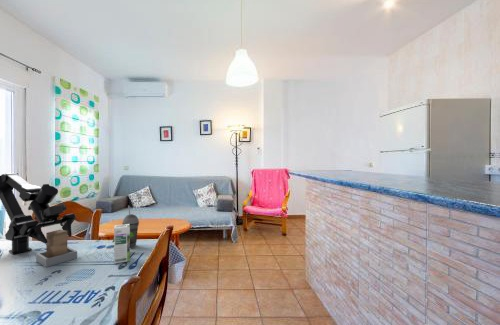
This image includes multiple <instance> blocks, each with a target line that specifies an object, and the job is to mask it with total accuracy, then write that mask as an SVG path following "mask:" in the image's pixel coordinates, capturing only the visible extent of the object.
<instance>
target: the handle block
mask: <svg viewBox="0 0 500 325" xmlns="http://www.w3.org/2000/svg"><path fill="white" fill-rule="evenodd" d="M45 237H46V239H47V244H46V258H51V257H55V256H59V255H62V254H66V253H67V247H68V235H67V231H65V230H63V229H56V230H51V231H48V232H46V236H45Z"/></svg>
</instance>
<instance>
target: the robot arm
mask: <svg viewBox="0 0 500 325" xmlns="http://www.w3.org/2000/svg"><path fill="white" fill-rule="evenodd" d="M14 190H15V191H17V192H18V193H19V195H18V197H19V198H20V200H22V202H30V203H29V206H28V208H27V210H28V211H32V213H33V214H34V218H33V216H32V215H31V214H28V215H26V214H25V213H24V211H23V209H22V208H21V205H20V203H19V201H18V200H17V199H18V198H16V195H15V194H14ZM58 194H59V189H58V188H56V187H54V186H53V185H50V184H49V183H43V184H42V186H39V185H35V184H30V182H28V181H27V180H25V179H23V177H21V176H20V175H19V174H18V173H15V172H9V173H8V172H7V173H3V174H1V175H0V201H1V203H2V205H3V207H4V209H5V212H6V213H7V215H8V218H9V219H10V222H9V225H8V230H7V231H6V232H5V235H4V236H5V240H7V241H11V249H9V250H8V252H9V253H10V254H12V255H16V254H21V253H24V252H29V251H32V250H33V249H32V248H31V247H30V238H32V239H35V240H37V241H38V242H41V243H43V244H47V239H46V236H45V234H44V231H42V228H45V227H46V228H47V227H51V226H55V225H60V226H61V230H65V231H67V237H69V238H71V237H72V236H73V235H72V224H73V223H74V222H75V220H76V219H77V215H76V214H75V213H68V214H64V215H63V216H62V217H61V218H59V217H60V215H61V214H63V213H64V212H66V211H67V206H66V204H65V203H60V204H58V205H54V206H50V205H49V204H51V203H52V202H53V200H55V198H56V196H57V195H58Z"/></svg>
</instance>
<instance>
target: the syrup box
mask: <svg viewBox="0 0 500 325" xmlns="http://www.w3.org/2000/svg"><path fill="white" fill-rule="evenodd" d="M113 229H114V230H113V236H114V237H113V239H114V242H113V243H114V244H113V245H114V249H113V250H114V253H113V256H114V257H113V258H114V259H113V264H114V265H115V264H120V263H126V262H130V258H131V257H130V256H131V253H130V252H131V251H130V250H131V248H130V226H129V224H125V225H123V224H118V225H117V224H115V225H114V228H113Z"/></svg>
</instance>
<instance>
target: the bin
mask: <svg viewBox="0 0 500 325" xmlns="http://www.w3.org/2000/svg"><path fill="white" fill-rule="evenodd" d="M75 259H78V251H77V250H76V249H73V248H72V247H69V246H67V253H66V254H62V255H59V256H55V257H51V258H46V251H40V252H37V253H36V254H35V261H36V262H37V263H38V264H40V265H42V266H43V267H44V268H47V267H52V266H54V265H59V264H62V263H66V262H69V261H72V260H75Z"/></svg>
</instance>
